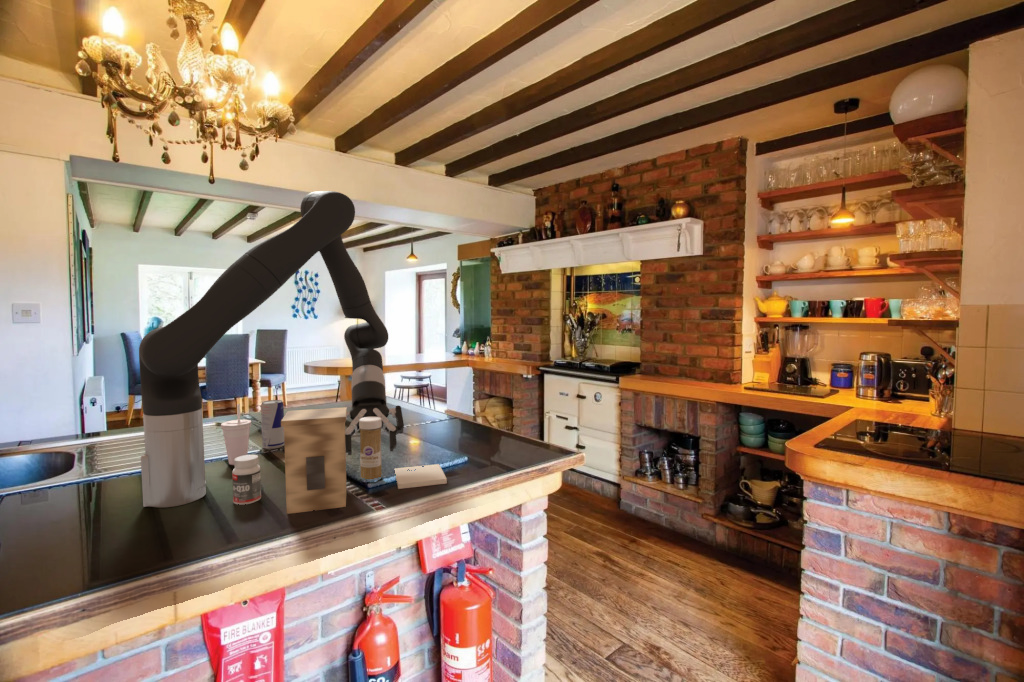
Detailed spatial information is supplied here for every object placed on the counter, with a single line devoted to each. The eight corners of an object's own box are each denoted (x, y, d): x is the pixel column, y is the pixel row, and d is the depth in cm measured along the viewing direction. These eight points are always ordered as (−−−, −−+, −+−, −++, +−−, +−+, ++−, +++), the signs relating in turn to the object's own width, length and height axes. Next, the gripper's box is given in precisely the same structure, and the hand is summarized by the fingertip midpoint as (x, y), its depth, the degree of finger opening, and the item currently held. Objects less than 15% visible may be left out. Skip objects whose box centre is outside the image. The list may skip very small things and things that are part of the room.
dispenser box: (284, 515, 86) (280, 421, 84) (290, 496, 94) (287, 410, 93) (348, 507, 89) (345, 416, 88) (348, 490, 97) (346, 407, 96)
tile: (398, 488, 98) (398, 484, 98) (394, 472, 108) (394, 468, 107) (446, 483, 101) (446, 478, 101) (439, 468, 111) (438, 464, 111)
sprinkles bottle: (360, 484, 100) (358, 421, 99) (360, 477, 105) (359, 416, 104) (383, 482, 102) (381, 419, 101) (382, 475, 106) (381, 415, 105)
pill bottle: (227, 504, 90) (225, 460, 90) (244, 494, 95) (243, 453, 94) (250, 506, 90) (248, 462, 89) (266, 496, 94) (265, 454, 94)
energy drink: (289, 445, 129) (287, 401, 128) (270, 450, 124) (268, 404, 123) (277, 442, 132) (275, 399, 131) (258, 447, 127) (256, 402, 126)
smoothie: (251, 464, 113) (249, 406, 112) (219, 468, 111) (217, 408, 110) (254, 456, 119) (252, 401, 118) (224, 459, 117) (222, 402, 116)
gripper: (335, 381, 107) (334, 445, 97) (400, 378, 111) (406, 439, 101) (336, 400, 112) (336, 463, 102) (399, 396, 117) (404, 456, 107)
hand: (371, 451), depth 102 cm, fingers open, 8 cm apart
